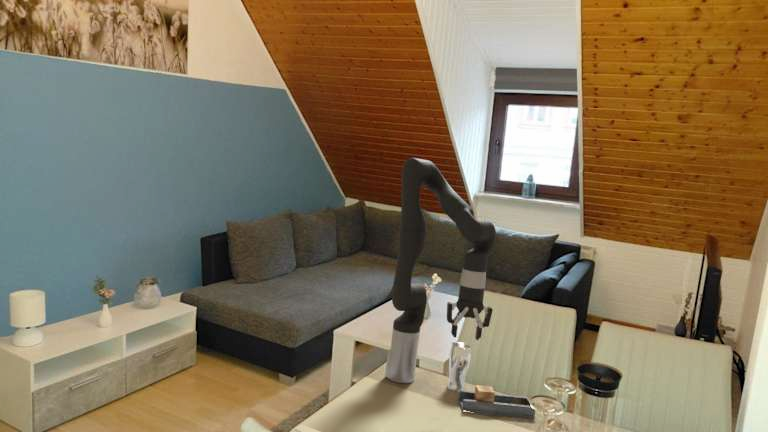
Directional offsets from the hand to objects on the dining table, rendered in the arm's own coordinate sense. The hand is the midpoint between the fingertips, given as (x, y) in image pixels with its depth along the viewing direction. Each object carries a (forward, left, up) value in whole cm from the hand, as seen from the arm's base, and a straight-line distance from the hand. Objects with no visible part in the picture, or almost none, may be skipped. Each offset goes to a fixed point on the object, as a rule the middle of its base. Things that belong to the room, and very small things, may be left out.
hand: (465, 337), depth 167 cm
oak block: (+7, +4, -20) cm, 22 cm away
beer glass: (-6, +13, -22) cm, 26 cm away
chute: (+10, +6, -22) cm, 25 cm away
